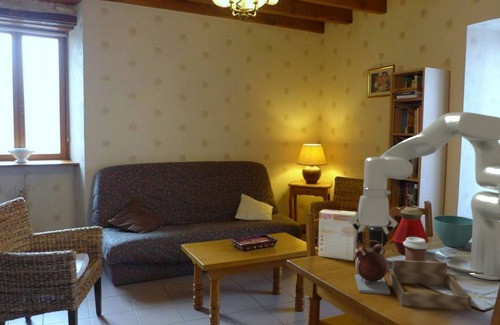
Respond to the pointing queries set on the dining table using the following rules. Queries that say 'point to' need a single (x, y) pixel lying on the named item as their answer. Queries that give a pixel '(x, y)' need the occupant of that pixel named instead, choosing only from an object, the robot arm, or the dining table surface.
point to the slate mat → (372, 286)
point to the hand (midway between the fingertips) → (371, 243)
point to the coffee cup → (415, 249)
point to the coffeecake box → (337, 234)
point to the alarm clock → (371, 262)
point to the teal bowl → (453, 230)
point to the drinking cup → (375, 235)
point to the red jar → (409, 228)
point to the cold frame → (427, 275)
